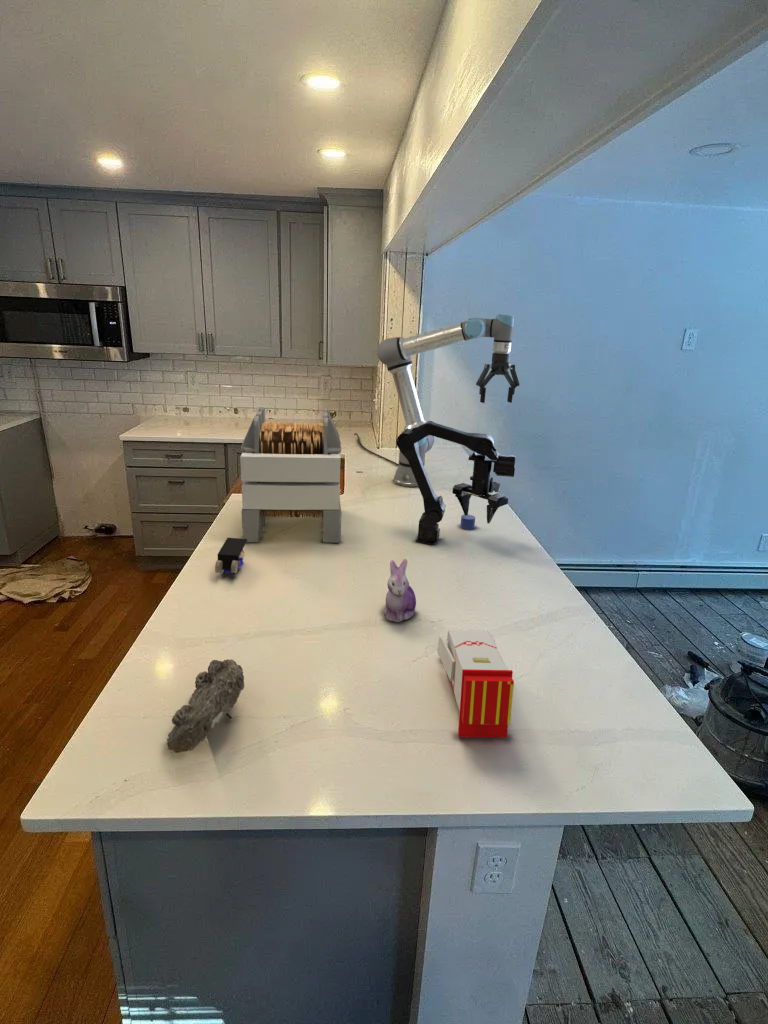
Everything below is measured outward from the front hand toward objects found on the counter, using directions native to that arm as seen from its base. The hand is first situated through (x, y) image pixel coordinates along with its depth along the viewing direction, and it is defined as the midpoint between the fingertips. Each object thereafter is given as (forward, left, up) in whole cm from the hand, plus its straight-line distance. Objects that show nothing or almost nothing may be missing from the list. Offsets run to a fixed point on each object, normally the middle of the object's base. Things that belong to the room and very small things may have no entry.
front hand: (477, 519), depth 189 cm
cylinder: (-7, +16, -10) cm, 20 cm away
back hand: (-15, +75, +28) cm, 82 cm away
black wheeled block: (-59, -54, -10) cm, 80 cm away
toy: (+20, -77, -10) cm, 80 cm away
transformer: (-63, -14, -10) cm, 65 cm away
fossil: (-22, -107, -10) cm, 109 cm away
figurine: (-5, -54, -10) cm, 55 cm away
